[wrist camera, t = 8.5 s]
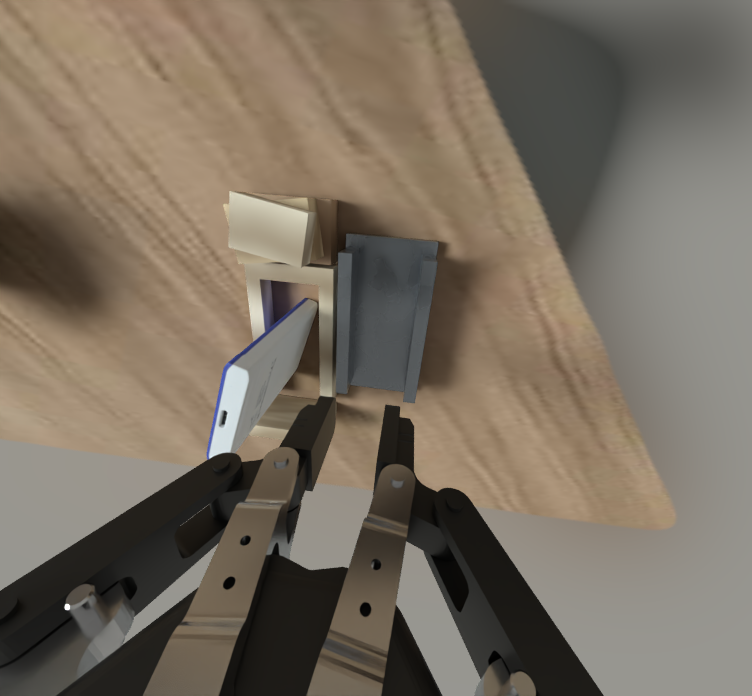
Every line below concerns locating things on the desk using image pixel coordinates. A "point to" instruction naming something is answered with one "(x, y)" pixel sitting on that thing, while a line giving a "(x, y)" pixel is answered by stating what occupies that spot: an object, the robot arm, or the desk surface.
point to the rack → (262, 318)
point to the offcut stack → (282, 229)
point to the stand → (383, 311)
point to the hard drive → (258, 378)
